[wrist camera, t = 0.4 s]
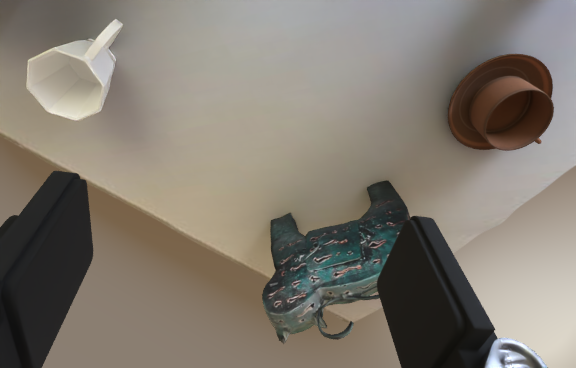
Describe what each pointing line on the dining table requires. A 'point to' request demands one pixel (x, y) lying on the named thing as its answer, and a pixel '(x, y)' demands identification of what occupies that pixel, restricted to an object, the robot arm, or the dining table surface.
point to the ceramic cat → (330, 263)
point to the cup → (74, 75)
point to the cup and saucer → (502, 104)
